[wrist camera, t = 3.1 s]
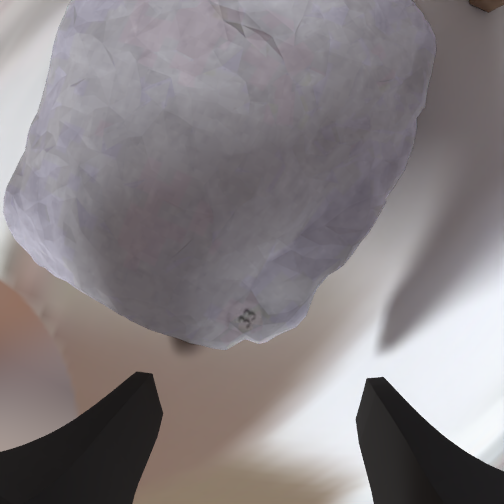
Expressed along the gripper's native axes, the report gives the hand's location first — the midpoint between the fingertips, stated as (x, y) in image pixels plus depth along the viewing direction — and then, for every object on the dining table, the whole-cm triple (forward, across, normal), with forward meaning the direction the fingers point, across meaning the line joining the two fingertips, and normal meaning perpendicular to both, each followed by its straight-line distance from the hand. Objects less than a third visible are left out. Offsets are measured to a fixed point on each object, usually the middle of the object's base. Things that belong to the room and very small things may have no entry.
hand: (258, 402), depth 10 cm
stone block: (+2, +1, -9) cm, 9 cm away
